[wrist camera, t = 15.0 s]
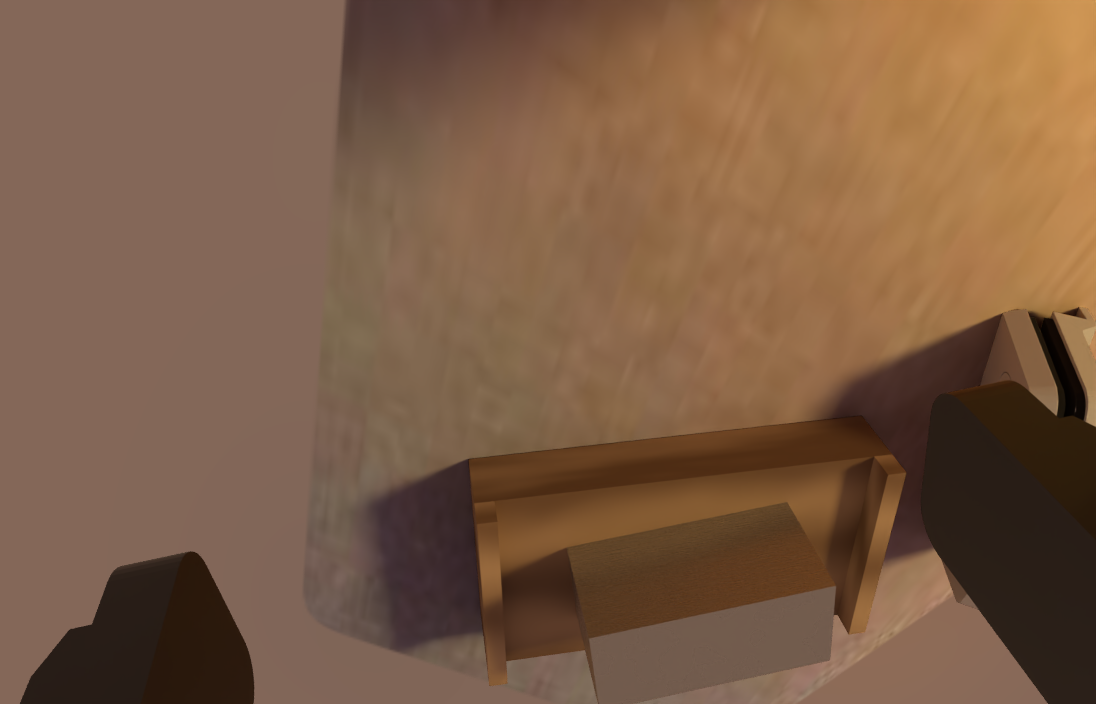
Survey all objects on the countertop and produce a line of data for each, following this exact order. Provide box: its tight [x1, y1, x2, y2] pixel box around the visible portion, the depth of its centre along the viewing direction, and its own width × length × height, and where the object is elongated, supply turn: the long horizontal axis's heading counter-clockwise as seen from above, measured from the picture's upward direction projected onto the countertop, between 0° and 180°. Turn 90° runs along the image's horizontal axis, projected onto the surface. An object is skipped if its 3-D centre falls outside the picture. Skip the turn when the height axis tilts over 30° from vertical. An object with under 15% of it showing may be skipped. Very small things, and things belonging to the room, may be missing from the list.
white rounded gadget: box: [941, 307, 1096, 610], centre depth 48 cm, size 17×5×10 cm, turn 1°
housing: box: [567, 502, 836, 704], centre depth 45 cm, size 6×12×6 cm, turn 98°
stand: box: [469, 416, 906, 686], centre depth 48 cm, size 12×22×5 cm, turn 91°
